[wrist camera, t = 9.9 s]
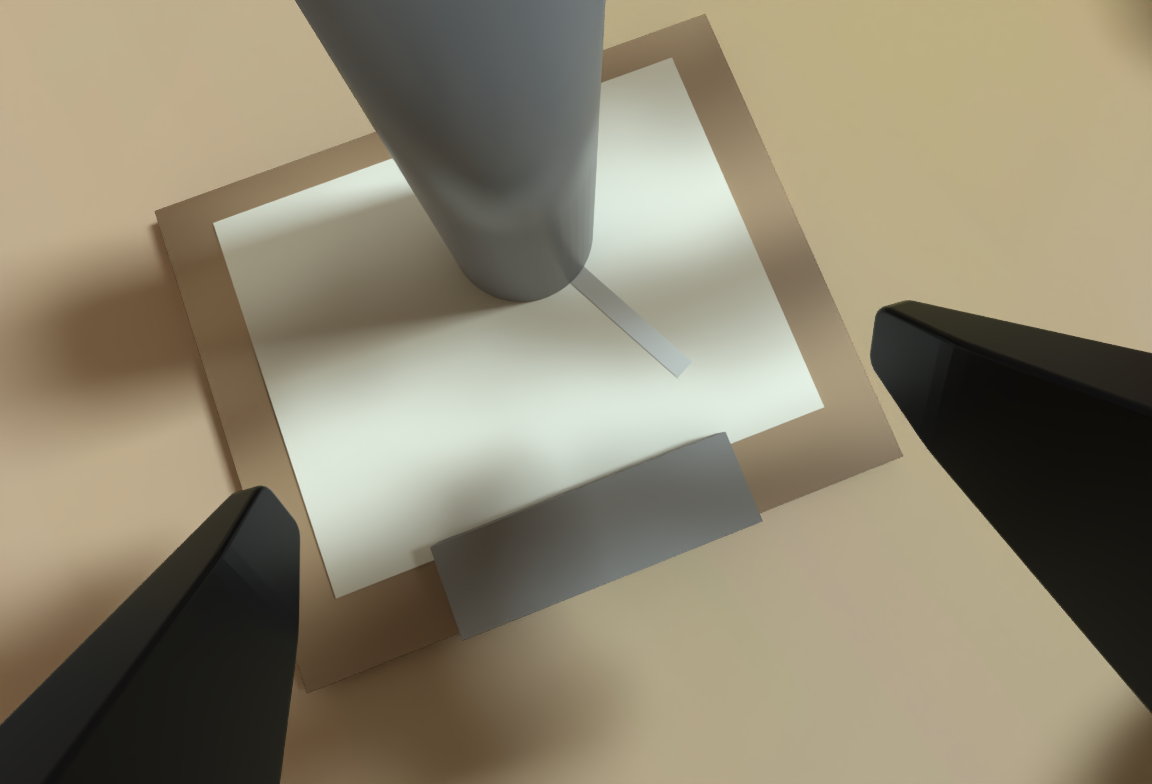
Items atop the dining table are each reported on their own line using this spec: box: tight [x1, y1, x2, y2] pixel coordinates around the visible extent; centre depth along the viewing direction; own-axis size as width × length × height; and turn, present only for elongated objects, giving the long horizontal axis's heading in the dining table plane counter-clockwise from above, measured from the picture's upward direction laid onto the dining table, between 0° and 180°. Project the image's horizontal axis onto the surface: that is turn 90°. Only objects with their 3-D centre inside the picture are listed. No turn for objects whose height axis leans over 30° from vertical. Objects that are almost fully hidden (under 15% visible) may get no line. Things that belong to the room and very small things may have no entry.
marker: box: [295, 0, 605, 302], centre depth 10 cm, size 4×4×13 cm
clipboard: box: [155, 14, 903, 693], centre depth 16 cm, size 14×17×2 cm
